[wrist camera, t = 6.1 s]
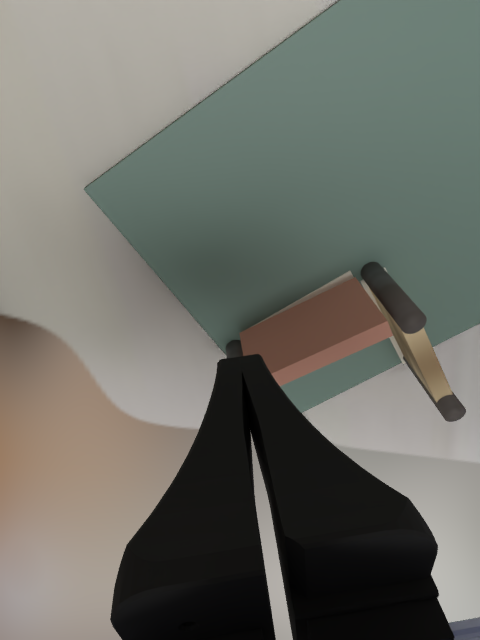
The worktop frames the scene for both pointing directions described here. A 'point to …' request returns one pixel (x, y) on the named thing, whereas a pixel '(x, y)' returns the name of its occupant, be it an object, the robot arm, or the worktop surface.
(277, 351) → the gate panel
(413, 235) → the card
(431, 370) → the tan and grey block
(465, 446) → the worktop surface
